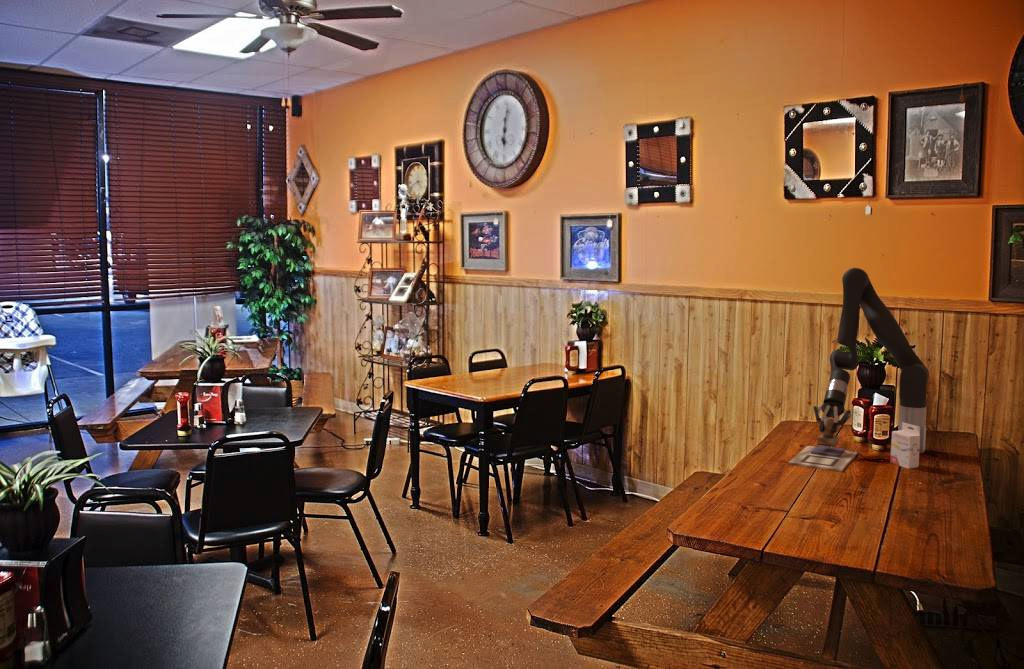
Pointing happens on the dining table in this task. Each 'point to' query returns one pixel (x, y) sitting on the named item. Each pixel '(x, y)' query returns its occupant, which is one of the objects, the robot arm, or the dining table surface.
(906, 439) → the ink cartridge box
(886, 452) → the dining table surface
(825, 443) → the hand stamp
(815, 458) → the stamping board
